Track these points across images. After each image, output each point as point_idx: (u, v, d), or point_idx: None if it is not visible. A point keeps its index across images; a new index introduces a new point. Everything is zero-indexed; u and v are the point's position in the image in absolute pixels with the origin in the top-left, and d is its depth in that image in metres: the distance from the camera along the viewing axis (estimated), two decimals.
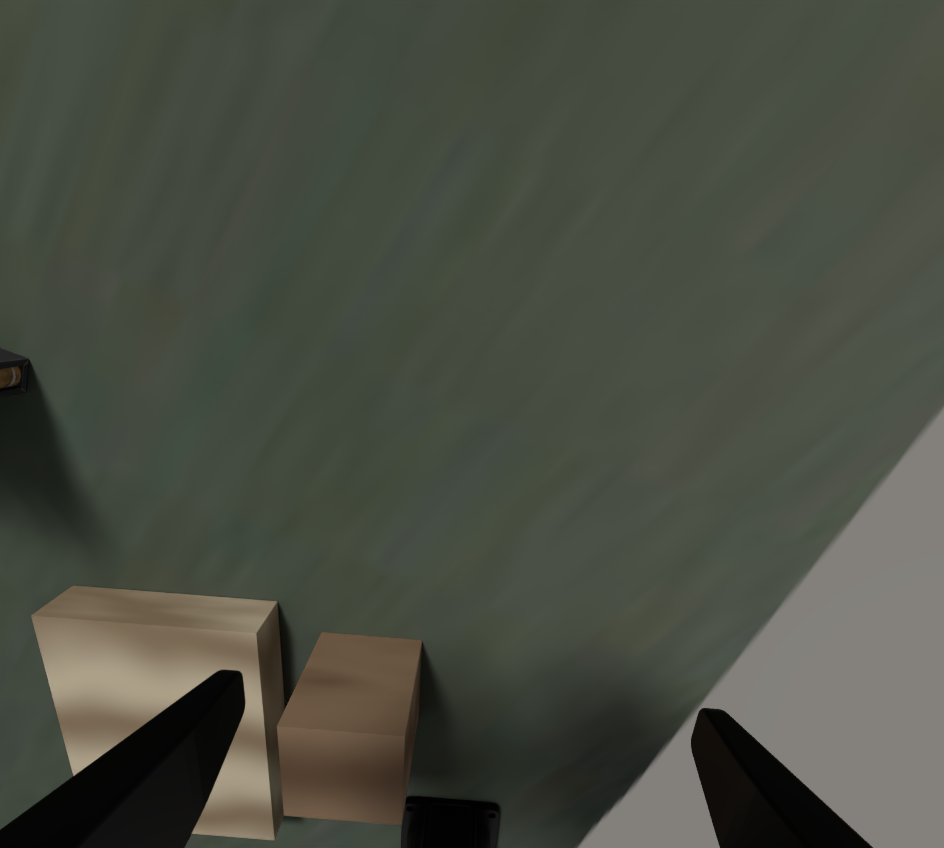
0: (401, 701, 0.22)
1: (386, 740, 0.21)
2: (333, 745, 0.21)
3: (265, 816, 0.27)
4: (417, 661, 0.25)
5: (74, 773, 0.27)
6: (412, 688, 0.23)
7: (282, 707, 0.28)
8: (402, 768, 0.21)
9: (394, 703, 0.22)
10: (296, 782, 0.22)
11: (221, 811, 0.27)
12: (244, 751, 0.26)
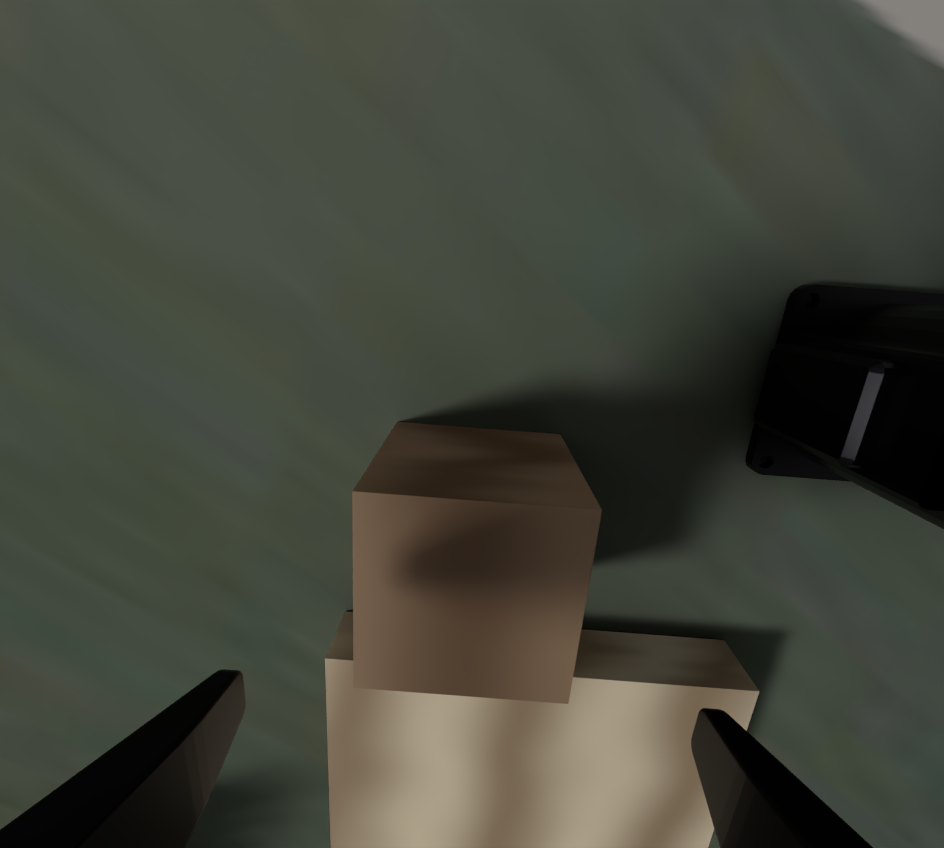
0: None
1: (367, 524, 0.11)
2: (387, 610, 0.12)
3: (699, 696, 0.16)
4: (390, 436, 0.15)
5: None
6: (378, 454, 0.13)
7: None
8: (437, 500, 0.11)
9: None
10: (483, 676, 0.12)
11: (680, 750, 0.17)
12: (553, 703, 0.17)
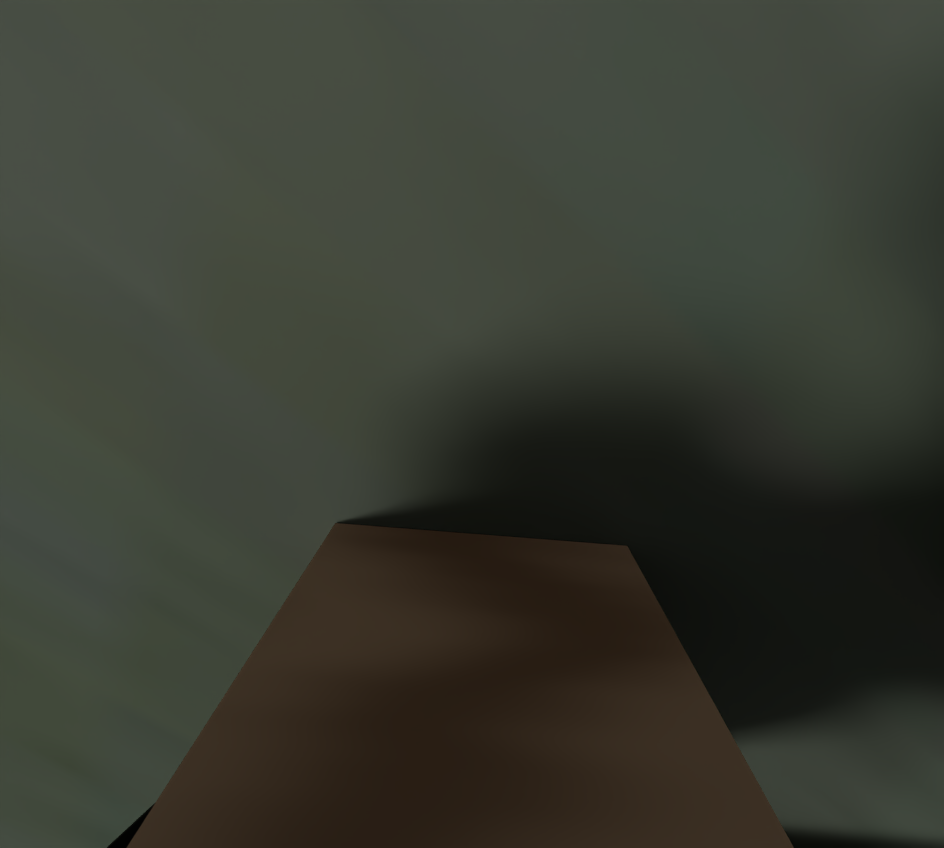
0: None
1: None
2: None
3: None
4: (307, 572, 0.08)
5: None
6: (255, 654, 0.06)
7: None
8: None
9: None
10: None
11: None
12: None
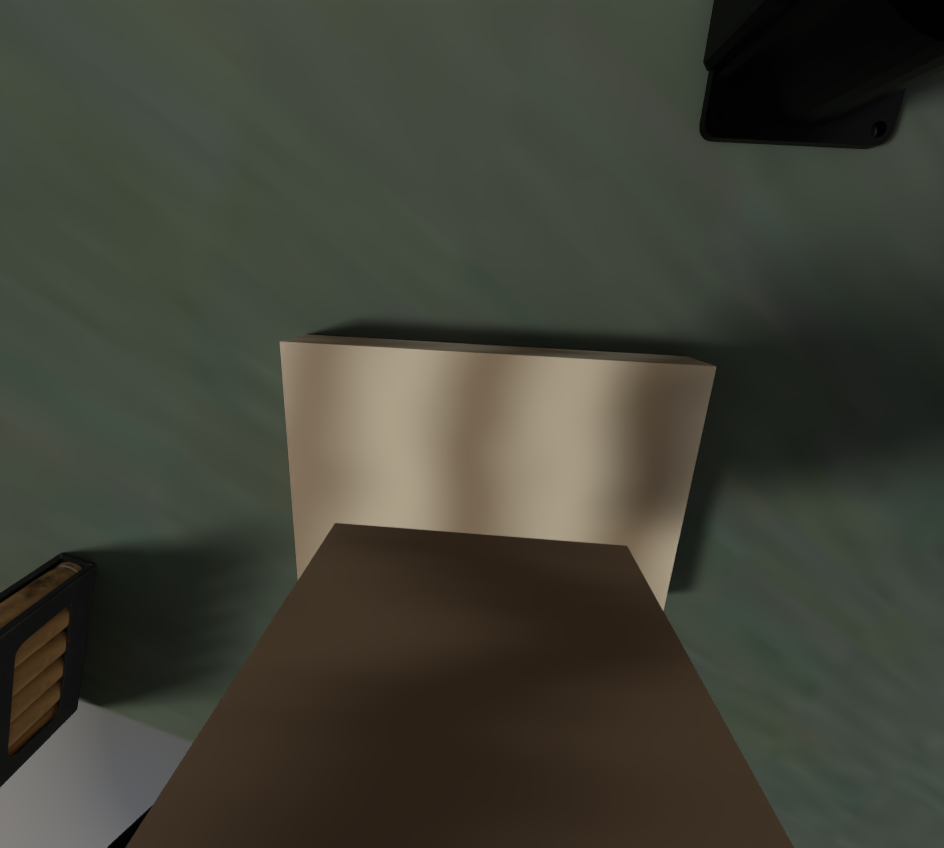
0: None
1: None
2: None
3: (656, 374, 0.16)
4: (306, 572, 0.08)
5: None
6: (254, 654, 0.06)
7: (485, 345, 0.18)
8: None
9: None
10: None
11: (639, 444, 0.17)
12: (509, 389, 0.17)
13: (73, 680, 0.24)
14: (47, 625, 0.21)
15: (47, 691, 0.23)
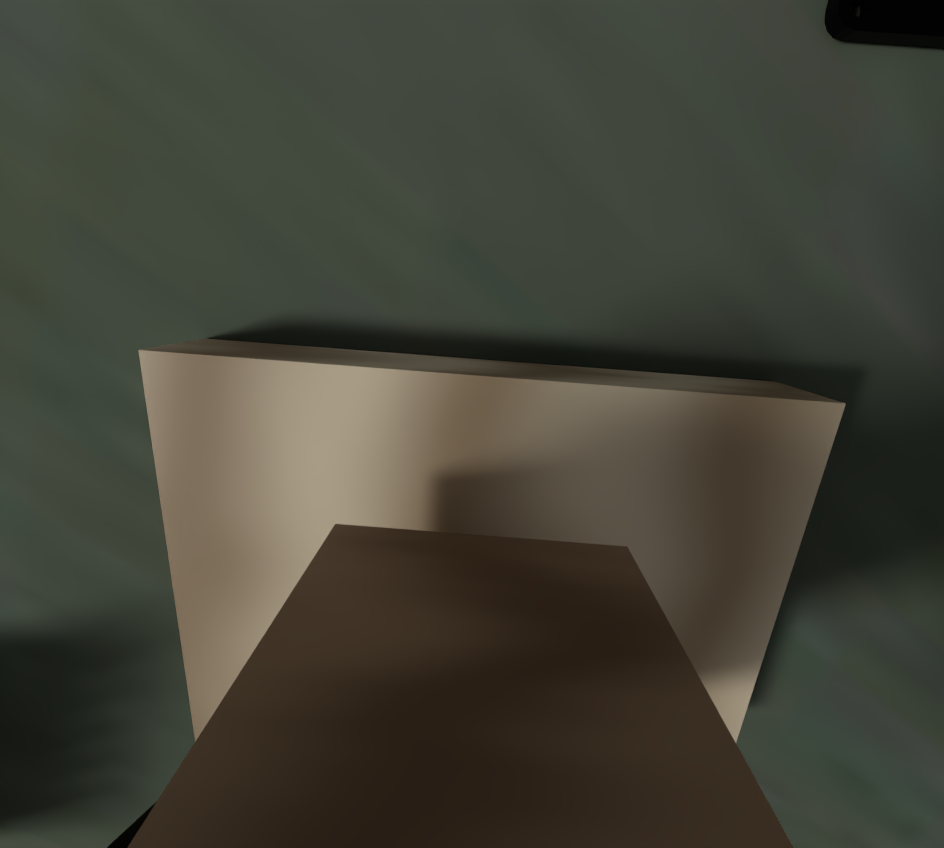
0: None
1: None
2: None
3: (747, 414, 0.10)
4: (307, 573, 0.08)
5: None
6: (254, 655, 0.06)
7: (474, 360, 0.12)
8: None
9: None
10: None
11: (713, 521, 0.11)
12: (510, 432, 0.10)
13: None
14: None
15: None
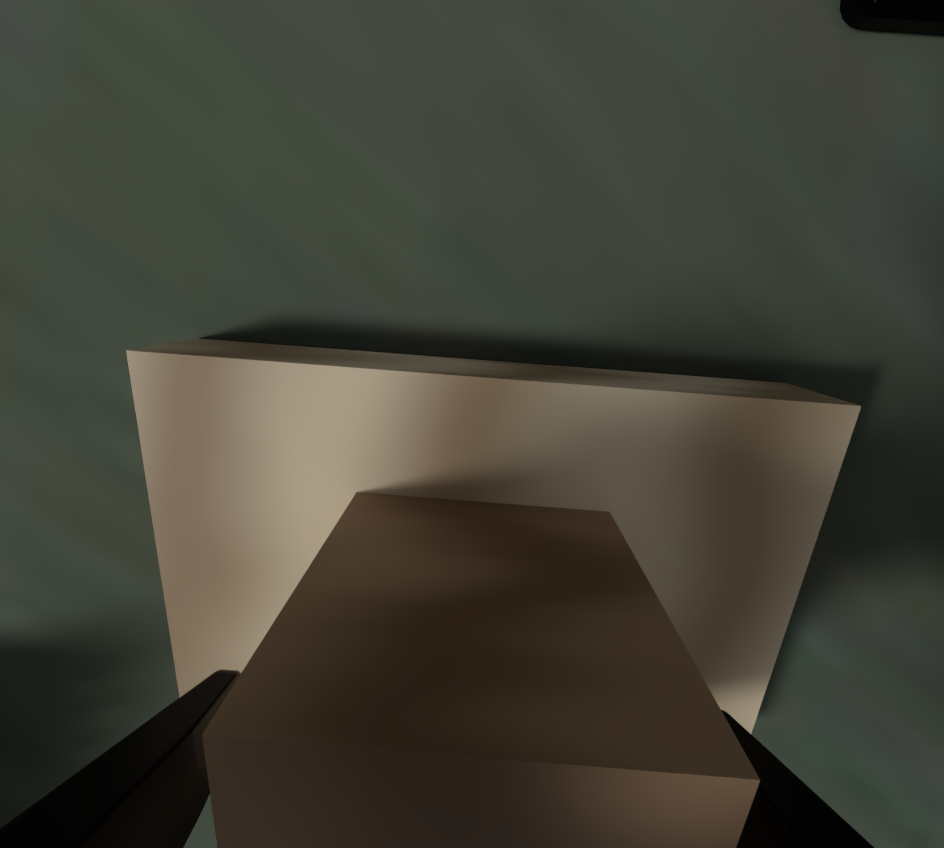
0: None
1: (241, 794, 0.05)
2: None
3: (758, 417, 0.10)
4: (336, 529, 0.09)
5: None
6: (301, 584, 0.07)
7: (475, 361, 0.12)
8: (389, 755, 0.05)
9: None
10: None
11: (722, 527, 0.11)
12: (512, 436, 0.10)
13: None
14: None
15: None
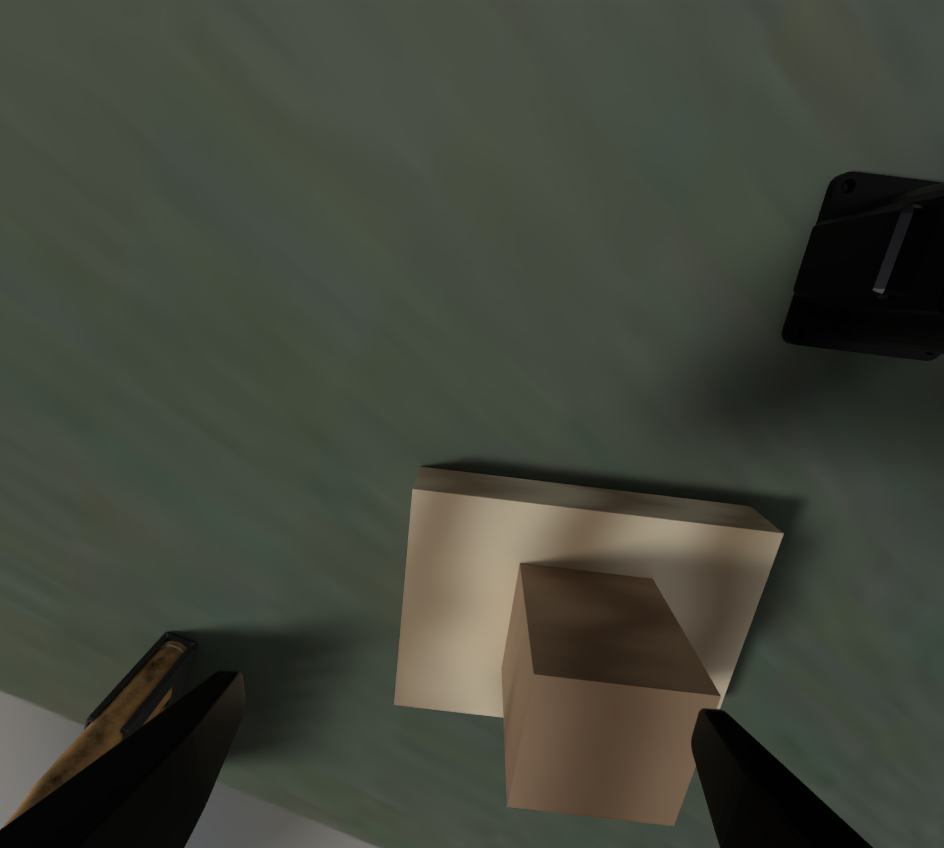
0: (526, 643, 0.16)
1: (540, 696, 0.14)
2: (544, 754, 0.15)
3: (732, 536, 0.19)
4: (523, 586, 0.18)
5: None
6: (526, 617, 0.17)
7: (579, 488, 0.21)
8: (597, 683, 0.14)
9: (525, 653, 0.16)
10: (611, 803, 0.16)
11: (711, 589, 0.20)
12: (606, 539, 0.19)
13: None
14: None
15: None
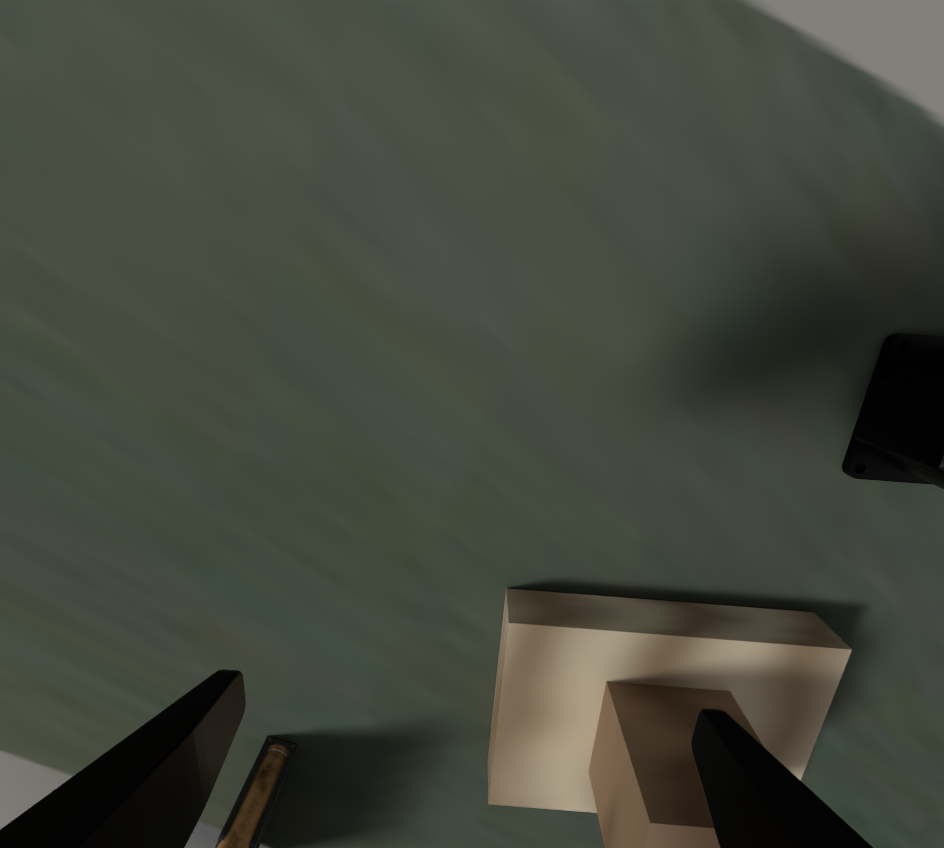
0: (631, 779, 0.18)
1: (655, 840, 0.16)
2: None
3: (804, 653, 0.21)
4: (616, 712, 0.20)
5: None
6: (628, 751, 0.18)
7: (654, 604, 0.23)
8: (707, 829, 0.16)
9: (631, 789, 0.18)
10: None
11: (784, 698, 0.22)
12: (686, 659, 0.21)
13: None
14: None
15: None
